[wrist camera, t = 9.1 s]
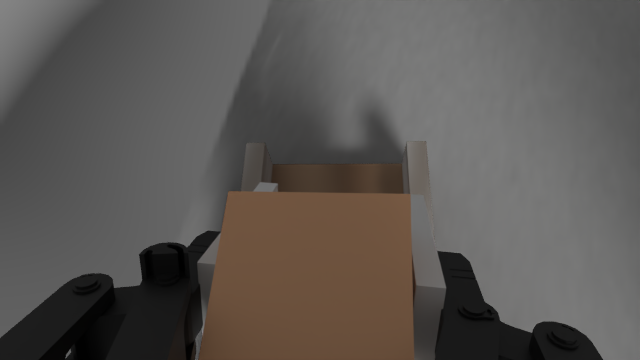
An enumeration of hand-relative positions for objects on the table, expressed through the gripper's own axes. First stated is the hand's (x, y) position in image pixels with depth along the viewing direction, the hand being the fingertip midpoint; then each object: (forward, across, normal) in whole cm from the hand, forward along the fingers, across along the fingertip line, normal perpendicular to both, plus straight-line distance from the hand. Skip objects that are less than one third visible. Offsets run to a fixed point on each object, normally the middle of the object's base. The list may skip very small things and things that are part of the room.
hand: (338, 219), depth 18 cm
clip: (+1, 0, -6) cm, 6 cm away
